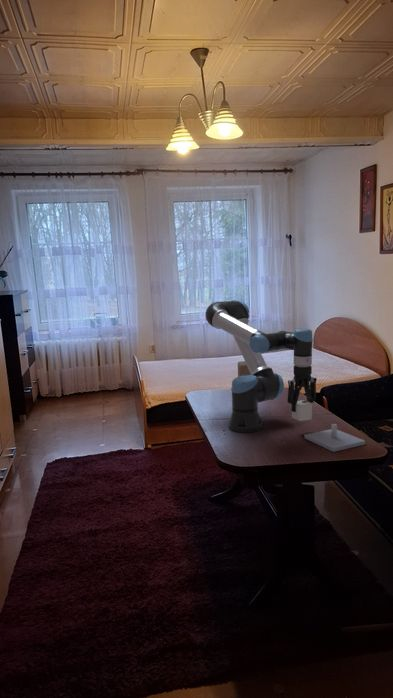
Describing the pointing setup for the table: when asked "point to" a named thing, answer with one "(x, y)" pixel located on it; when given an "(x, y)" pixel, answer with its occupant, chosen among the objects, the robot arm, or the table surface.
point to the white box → (304, 410)
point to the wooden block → (243, 369)
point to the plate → (334, 439)
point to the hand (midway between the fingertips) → (301, 417)
